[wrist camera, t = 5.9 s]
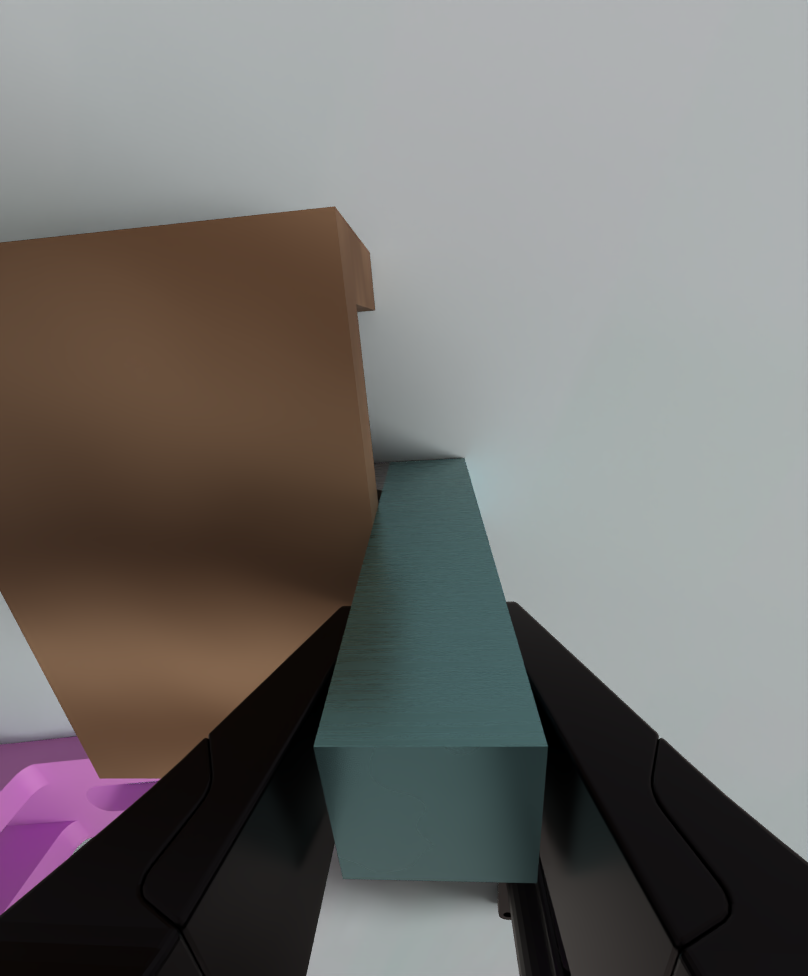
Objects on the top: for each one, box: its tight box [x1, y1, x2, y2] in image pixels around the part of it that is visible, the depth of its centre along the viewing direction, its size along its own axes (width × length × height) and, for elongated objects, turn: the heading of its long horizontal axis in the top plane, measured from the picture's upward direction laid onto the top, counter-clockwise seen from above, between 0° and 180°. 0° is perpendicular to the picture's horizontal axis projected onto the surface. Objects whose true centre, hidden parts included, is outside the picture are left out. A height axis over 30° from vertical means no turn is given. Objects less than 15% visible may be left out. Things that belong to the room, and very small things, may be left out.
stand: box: [0, 207, 378, 779], centre depth 12 cm, size 15×10×5 cm, turn 5°
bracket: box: [0, 736, 160, 915], centre depth 18 cm, size 13×6×7 cm, turn 102°
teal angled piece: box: [313, 458, 548, 883], centre depth 10 cm, size 2×14×10 cm, turn 94°
